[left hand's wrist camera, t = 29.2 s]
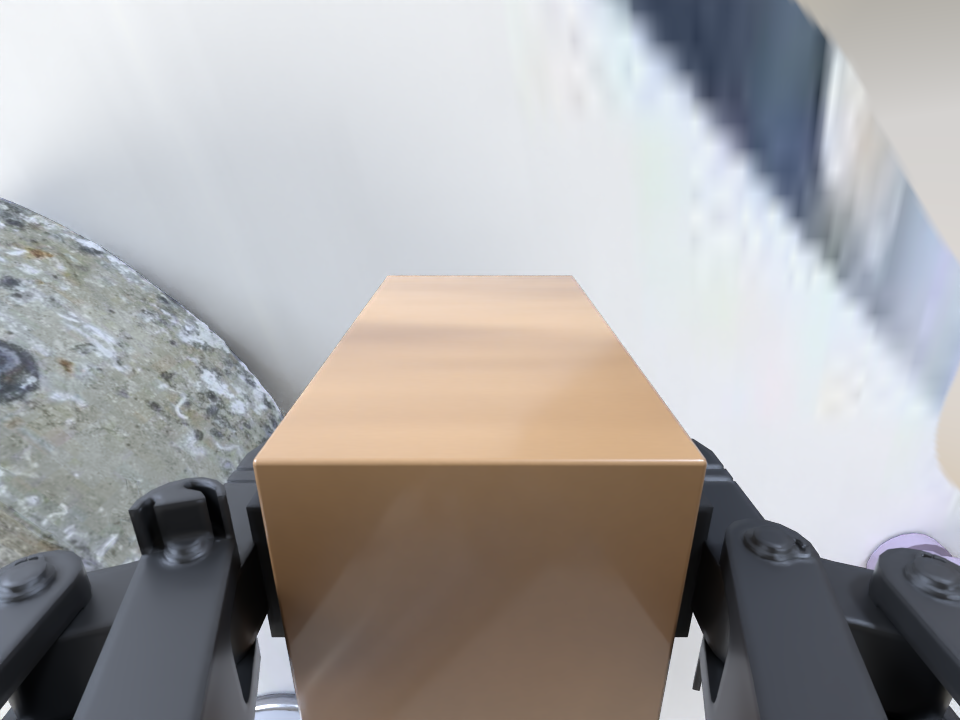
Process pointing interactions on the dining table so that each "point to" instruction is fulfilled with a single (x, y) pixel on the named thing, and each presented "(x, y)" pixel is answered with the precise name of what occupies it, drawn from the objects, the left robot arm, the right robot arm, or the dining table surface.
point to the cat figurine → (912, 547)
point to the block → (479, 512)
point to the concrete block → (104, 395)
